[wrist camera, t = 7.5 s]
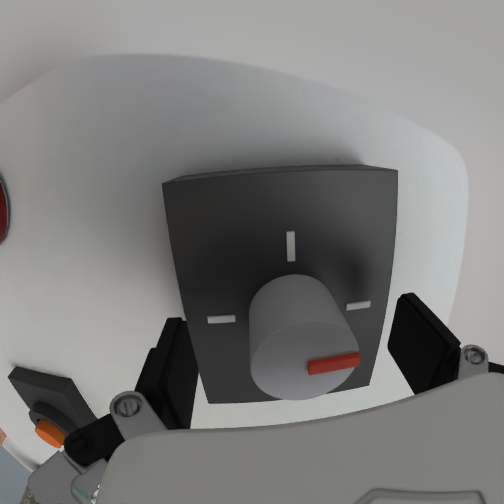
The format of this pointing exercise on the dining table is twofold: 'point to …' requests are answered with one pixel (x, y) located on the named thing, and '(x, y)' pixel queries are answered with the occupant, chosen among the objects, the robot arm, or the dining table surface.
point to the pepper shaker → (2, 437)
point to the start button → (50, 433)
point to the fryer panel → (279, 257)
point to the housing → (52, 400)
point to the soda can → (3, 212)
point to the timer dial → (299, 339)
